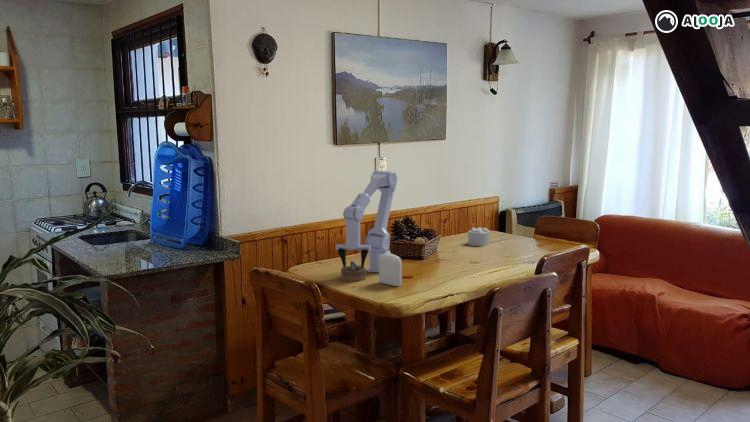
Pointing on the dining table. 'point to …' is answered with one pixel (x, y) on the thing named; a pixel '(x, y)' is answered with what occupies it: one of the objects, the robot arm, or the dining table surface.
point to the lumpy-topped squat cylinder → (479, 237)
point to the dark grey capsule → (353, 265)
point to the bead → (353, 274)
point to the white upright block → (390, 269)
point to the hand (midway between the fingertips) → (353, 267)
